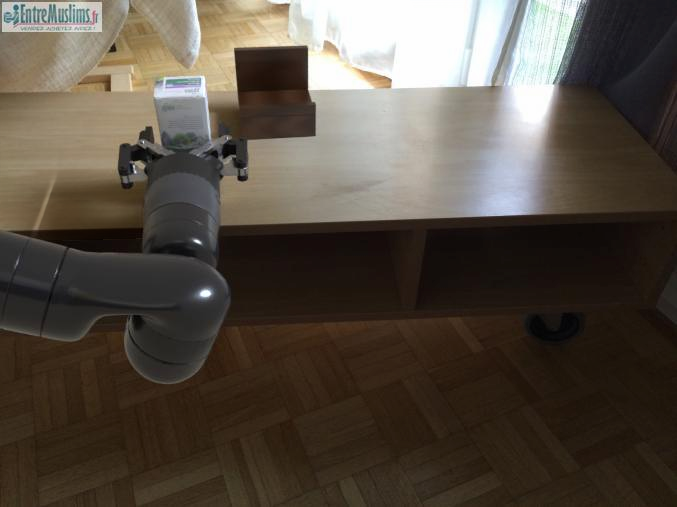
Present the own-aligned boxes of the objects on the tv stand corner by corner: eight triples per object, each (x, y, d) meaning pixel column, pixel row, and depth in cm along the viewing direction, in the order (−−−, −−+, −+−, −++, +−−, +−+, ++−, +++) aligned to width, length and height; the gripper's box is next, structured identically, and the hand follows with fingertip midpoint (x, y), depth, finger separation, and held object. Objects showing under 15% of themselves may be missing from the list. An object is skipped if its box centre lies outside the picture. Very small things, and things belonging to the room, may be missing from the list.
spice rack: (241, 139, 90) (236, 74, 83) (238, 109, 97) (233, 47, 91) (315, 135, 91) (316, 71, 85) (307, 106, 99) (307, 45, 92)
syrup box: (216, 177, 81) (204, 72, 72) (217, 202, 77) (205, 93, 68) (172, 180, 80) (155, 74, 71) (171, 205, 76) (151, 95, 67)
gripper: (117, 240, 63) (131, 161, 76) (255, 230, 65) (247, 154, 78) (101, 178, 59) (120, 105, 71) (251, 169, 61) (243, 99, 73)
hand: (186, 131), depth 74 cm, fingers open, 8 cm apart
